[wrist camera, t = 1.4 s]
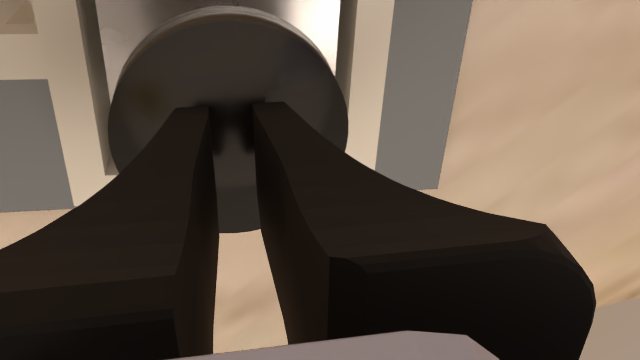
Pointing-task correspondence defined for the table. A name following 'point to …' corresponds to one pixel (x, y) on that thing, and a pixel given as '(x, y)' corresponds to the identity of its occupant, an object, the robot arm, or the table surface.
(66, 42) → the press body
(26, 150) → the slate mat
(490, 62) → the table surface
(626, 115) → the table surface
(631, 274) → the table surface
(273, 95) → the plunger
